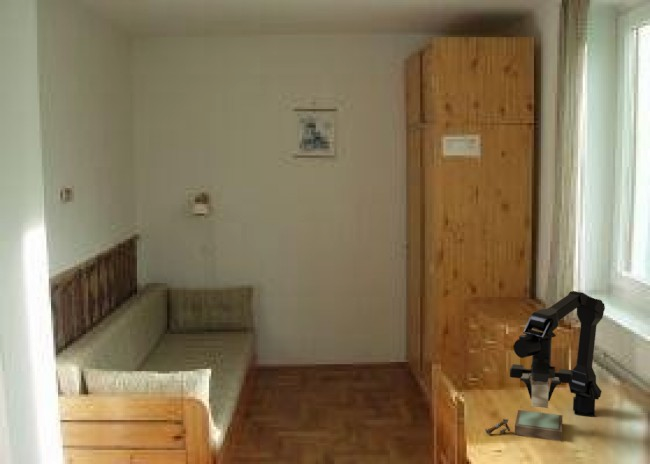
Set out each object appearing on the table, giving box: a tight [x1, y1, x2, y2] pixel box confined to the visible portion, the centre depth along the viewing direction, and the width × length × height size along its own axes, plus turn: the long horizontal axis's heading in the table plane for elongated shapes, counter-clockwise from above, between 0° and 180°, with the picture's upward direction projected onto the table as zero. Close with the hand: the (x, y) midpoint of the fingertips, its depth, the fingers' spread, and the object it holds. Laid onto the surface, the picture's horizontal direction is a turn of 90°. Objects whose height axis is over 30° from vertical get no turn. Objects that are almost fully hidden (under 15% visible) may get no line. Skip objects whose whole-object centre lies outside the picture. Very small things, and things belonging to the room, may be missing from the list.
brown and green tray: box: [513, 409, 563, 442], centre depth 219 cm, size 14×14×3 cm
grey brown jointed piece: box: [484, 418, 511, 436], centre depth 217 cm, size 2×8×4 cm, turn 105°
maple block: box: [530, 380, 550, 409], centre depth 218 cm, size 5×5×7 cm
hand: (540, 399), depth 218 cm, fingers closed on maple block, 5 cm apart
